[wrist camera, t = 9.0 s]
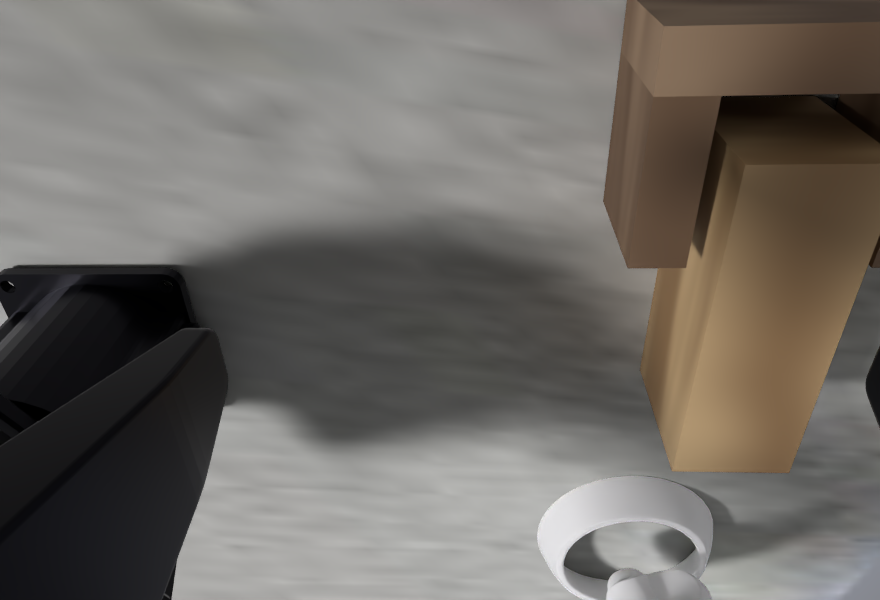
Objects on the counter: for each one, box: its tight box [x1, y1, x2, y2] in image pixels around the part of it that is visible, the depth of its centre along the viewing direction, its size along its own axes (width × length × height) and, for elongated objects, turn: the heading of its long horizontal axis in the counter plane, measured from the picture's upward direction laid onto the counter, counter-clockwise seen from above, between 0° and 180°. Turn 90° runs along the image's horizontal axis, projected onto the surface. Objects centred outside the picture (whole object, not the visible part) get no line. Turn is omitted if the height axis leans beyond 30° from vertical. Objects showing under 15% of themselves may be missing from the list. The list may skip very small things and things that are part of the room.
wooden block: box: [640, 96, 880, 473], centre depth 20 cm, size 4×10×5 cm, turn 2°
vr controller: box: [537, 476, 713, 600], centre depth 26 cm, size 8×12×7 cm
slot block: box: [603, 0, 880, 268], centre depth 17 cm, size 8×6×4 cm
